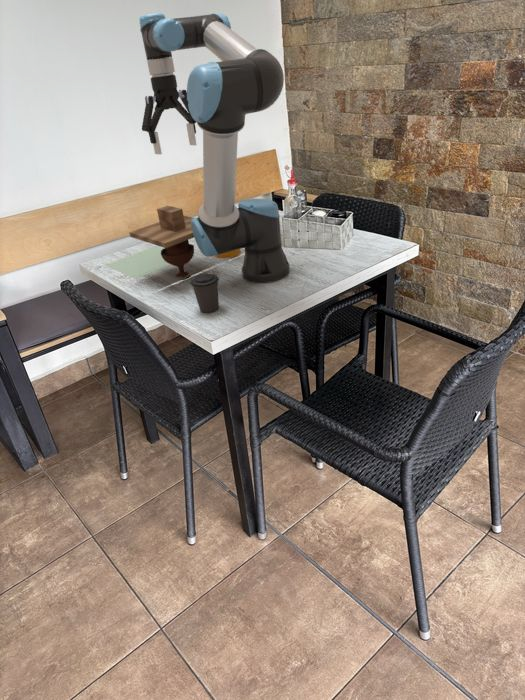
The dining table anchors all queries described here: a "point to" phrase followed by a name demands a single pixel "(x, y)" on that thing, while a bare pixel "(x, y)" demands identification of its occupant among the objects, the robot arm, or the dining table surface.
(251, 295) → the dining table surface
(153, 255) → the green mat
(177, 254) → the ice cream bowl
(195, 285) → the coffee cup
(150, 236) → the walnut cover
